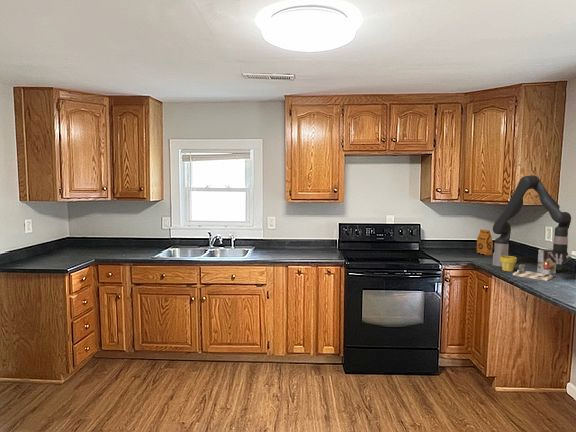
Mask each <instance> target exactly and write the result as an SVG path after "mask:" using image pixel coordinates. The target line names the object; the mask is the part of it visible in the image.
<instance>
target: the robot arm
mask: <svg viewBox="0 0 576 432" xmlns="http://www.w3.org/2000/svg"><path fill="white" fill-rule="evenodd" d="M528 190H534V191H535V192H536V193H537V195H538V196H539V202H540V203H541V205H542V206H543V208H545V210H546V211H547V212H548V213H549V215H550V217H551V220H553V222H555V223H558V225H557V226H555V227H554V235H553V243H552V250H553V251H552V253H551V254H549V255H548V256H549V258H550V259H551V260H552V261H553V263H556V270H557V271H561V270H562V269H563V265H565V264H566V263H568V262H569V261H570V260H571V259H572V256H570V255H569V253H568V245H569V238H568V237H569V229H570V226H571V222H572V215H571V214H570V213H569V212H567V211H561V210H560V208H561V207H560V204H559V203H558V202H557V201H556V200H555V199H554V198H553V197H552V196H551V195H550V193H549V191H547V189H546V187H545V186H544V183H542V181H541V179H540V178H539V177H538V176H537V175H535V174H534V175H525V176H522V177H521V178H520V179H519V181H518V183H517V184H516V187H515V189H514V192H513V193H512V196H511V198H510V199H509V200H508V202H507V204H506V206H505V208H504V209H503V211H502V212H501V214H500V215H499V217H498V218H497V219H496V221H495V222H494V223H493V225H492V232H493V234H496V235H500V236H499V237H496V238H495V239H494V246H493V249H494V252H492V266H495V267H501V268H502V264H501V261H500V256H509V243H510V241H511V240H510V239H511V231H512V229H511V228H512V227H511V223H509V221H510V220H511V219H513V218H514V217H515V216H517V215H518V214H519V213H520V211H521V209H522V208H523V206H524V197H525V194H527V192H528ZM553 255H554V257H555V258H556V260H555V259H554V258H553ZM565 258H566V259H565ZM564 259H565V260H564Z"/></svg>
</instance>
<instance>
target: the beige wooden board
mask: <svg viewBox="0 0 576 432" xmlns="http://www.w3.org/2000/svg"><path fill="white" fill-rule="evenodd" d="M542 275H544V274H542V273H540V272H537V271H528V270H527V265H526V264H521V263H520V264H519V266H518V269H517V271H515V272H512V276H515V277H519V278H520V277H521V278H527V279H534V280H539V281H540V280H541V281H546V282H547V281H550V280H552V279H553V278H554V276H553V275H552V274H551V273H550V274H549V275H547V274H546V276H544V277H543V276H542Z"/></svg>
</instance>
